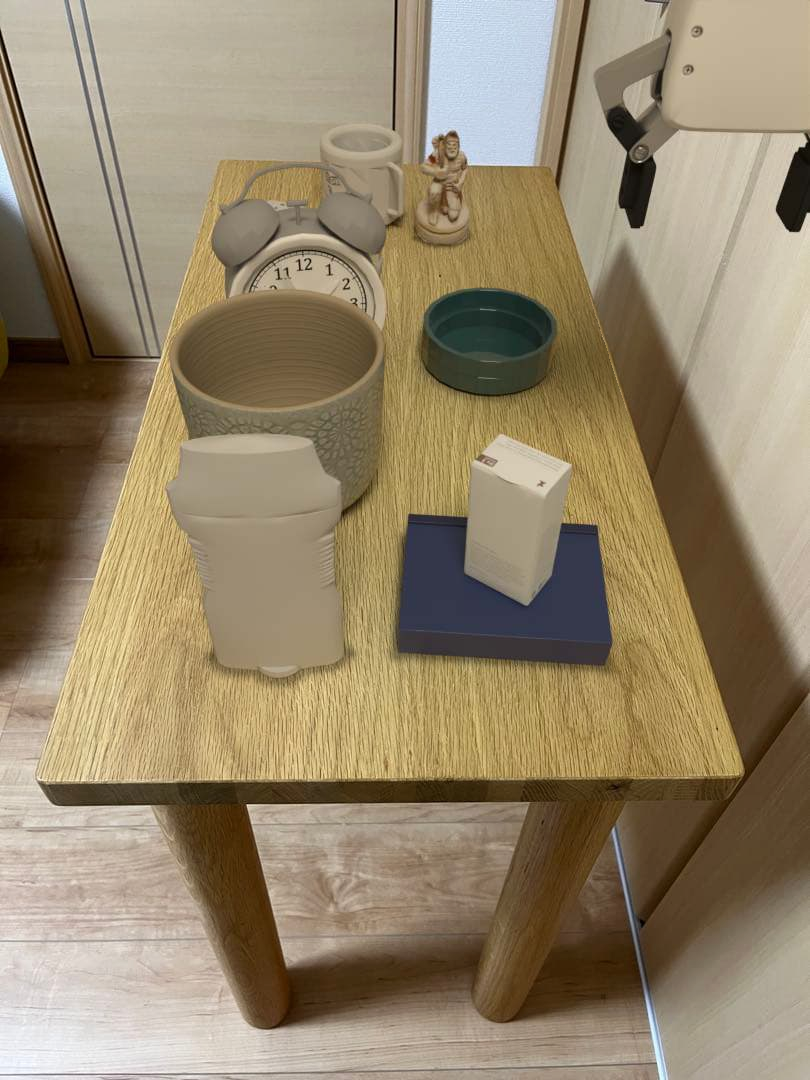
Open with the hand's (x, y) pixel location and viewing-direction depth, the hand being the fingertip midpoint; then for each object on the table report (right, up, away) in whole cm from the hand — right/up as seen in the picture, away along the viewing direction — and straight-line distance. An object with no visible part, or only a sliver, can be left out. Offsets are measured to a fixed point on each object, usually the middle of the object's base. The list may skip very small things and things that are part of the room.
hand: (709, 220), depth 52 cm
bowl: (-10, 0, +39) cm, 40 cm away
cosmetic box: (-11, -23, +14) cm, 29 cm away
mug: (-24, +24, +61) cm, 70 cm away
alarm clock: (-29, -2, +37) cm, 47 cm away
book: (-11, -25, +16) cm, 32 cm away
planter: (-30, -15, +24) cm, 41 cm away
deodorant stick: (-29, -29, +12) cm, 43 cm away
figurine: (-14, +21, +58) cm, 63 cm away
